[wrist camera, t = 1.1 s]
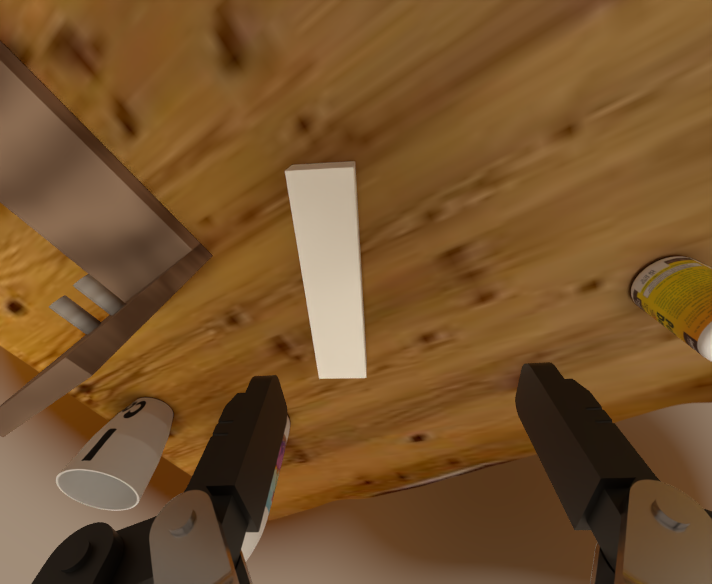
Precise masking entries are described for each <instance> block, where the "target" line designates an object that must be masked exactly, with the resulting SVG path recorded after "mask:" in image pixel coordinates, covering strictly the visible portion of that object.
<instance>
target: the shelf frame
mask: <svg viewBox="0 0 712 584" xmlns="http://www.w3.org/2000/svg"><path fill="white" fill-rule="evenodd" d="M0 202H1V203H2V204H3V205H4V206H6V207H7V208H8V209H9V210H11V211H12V212H13V213H14V214H15V215H17V216H18V217H19V218H20V219H22V220H23V221H24V222H25V223H27V224H28V225H29V226H30V227H32V228H33V229H34V230H35V231H36V232H38V233H39V234H40V235H41V236H43V237H44V238H45V239H46V240H48V241H49V242H50V243H51V244H53V245H54V246H55V247H56V248H57V249H59V250H60V251H61V252H62V253H64V254H65V255H66V256H67V257H69V258H70V259H71V260H72V261H74V262H75V263H76V264H77V265H78V266H80V267H81V268H82V269H83V270H85V271H86V272H87V273H88V275H86V276H85V277H83V278H82V279H80V280H79V281H78V282H76V283H75V284H74V285H73V286H74V287H75V288H76V289H78V290H79V291H80V292H82V293H83V294H84V295H86V296H87V297H88V298H89V299H91V300H92V301H93V302H95V303H96V304H97V305H98V306H100V307H101V308H102V309H104V310H105V311H106V312H107V313H109V314H110V315H109V316H108V317H107V318H106V319H104V320H103V321H102V322H100V321H99V320H97V319H96V318H95V317H93V316H92V315H91V314H89V313H88V312H87V311H85V310H84V309H83V308H81V307H80V306H79V305H77V304H76V303H75V302H73V301H72V300H71V299H69V298H68V297H67V296H63V297H61V298H60V299H58V300H57V301H55V302H54V303H53V304H51V305H50V306H49V308H51V309H52V310H53V311H55V312H56V313H58V314H59V315H60V316H62V317H63V318H65V319H66V320H67V321H69V322H70V323H71V324H73V325H74V326H76V327H77V328H78V329H80V330H81V331H83V332H84V333H85V334H86V335H85V336H84V337H83V338H81V339H80V340H79V341H78V342H77V343H75V344H74V345H73V346H72V347H71V348H69V349H68V350H67V351H66V352H65V353H63V354H62V355H61V356H60V357H58V358H57V359H56V360H55V361H54V362H52V363H51V364H50V365H49V366H48V367H46V368H45V369H44V370H43V371H42V372H40V373H39V374H38V375H37V376H36V377H34V378H33V379H32V380H31V381H30V382H28V383H27V384H26V385H25V386H23V387H22V388H21V389H20V390H19V391H18V392H17V393H15V394H14V395H13V396H11V397H10V398H9V399H8V400H7V401H5V402H4V403H3V404H2V405H1V406H0V436H2V437H4V436H6V435H7V434H8V433H10V432H11V431H13V430H14V429H16V428H17V427H19V426H20V425H22V424H23V423H24V422H26V421H27V420H29V419H30V418H32V417H33V416H34V415H36V414H37V413H39V412H40V411H42V410H43V409H45V408H46V407H48V406H49V405H50V404H52V403H53V402H55V401H56V400H57V399H59V398H61V397H62V396H63V395H65V394H66V393H68V392H69V391H71V390H72V389H73V388H75V387H76V386H78V385H79V384H81V383H82V382H84V381H85V380H86V379H88V378H89V377H91V376H92V375H93V374H94V373H95V372H96V371H97V370H98V369H99V368H100V367H101V366H102V365H103V364H104V363H105V362H106V361H107V360H108V359H109V358H110V357H111V356H112V355H113V354H114V353H115V352H116V351H117V350H118V349H119V348H120V347H121V346H122V345H123V344H124V343H125V342H126V341H127V340H128V339H129V338H130V337H131V336H132V335H133V334H134V333H135V332H136V331H137V330H138V329H139V328H140V327H141V326H142V325H143V324H144V323H145V322H147V321H148V320H149V319H150V318H151V317H152V316H153V315H154V314H155V313H156V312H157V311H158V310H159V309H160V308H161V307H162V306H163V305H164V304H165V303H166V302H167V301H168V300H169V299H170V298H171V297H172V296H173V295H174V294H175V293H176V292H177V291H178V290H179V289H180V288H181V287H182V286H183V285H184V284H185V283H186V282H187V281H188V280H189V279H190V278H191V277H192V276H193V275H194V274H195V273H196V272H197V271H198V270H199V269H200V268H201V267H202V266H203V265H204V264H205V263H206V262H207V261H208V260H209V259H210V258H211V257H212V255H211V254H210V253H209V252H208V251H207V250H206V249H205V248H204V247H203V246H202V245H201V244H200V243H199V242H198V241H197V240H196V239H195V237H194V236H193V235H192V234H191V233H190V232H189V231H188V230H187V229H186V228H185V227H184V226H183V225H182V224H181V223H180V222H179V221H178V220H177V219H176V218H175V217H174V216H173V215H172V214H171V213H170V212H169V211H168V210H167V209H166V208H165V207H164V206H163V205H162V204H161V203H160V202H159V201H158V200H157V199H156V198H155V197H154V196H153V195H152V194H151V193H150V192H149V191H148V190H147V189H146V188H145V187H144V186H143V185H142V184H141V183H140V182H139V181H138V180H137V179H136V178H135V177H134V176H133V175H132V174H131V173H130V172H129V171H128V170H127V169H126V168H125V167H124V166H123V165H122V164H121V163H120V162H119V161H118V160H117V159H116V158H115V157H114V156H113V155H112V153H111V152H110V151H109V150H108V149H107V148H106V147H105V146H104V145H103V144H102V143H101V142H100V141H99V140H98V139H97V138H96V137H95V136H94V135H93V134H92V133H91V132H90V131H89V130H88V129H87V128H86V127H85V126H84V125H83V124H82V123H81V122H80V121H79V120H78V119H77V118H76V117H75V116H74V115H73V114H72V113H71V112H70V111H69V110H68V109H67V108H66V107H65V106H64V105H63V104H62V103H61V102H60V101H59V100H58V99H57V98H56V97H55V96H54V95H53V94H52V93H51V92H50V91H49V90H48V89H47V88H46V87H45V86H44V85H43V84H42V83H41V82H40V81H39V80H38V79H37V78H36V77H35V76H34V75H33V74H32V73H31V72H30V71H29V69H28V68H27V67H26V66H25V65H24V64H23V63H22V62H21V61H20V60H19V59H18V58H17V57H16V56H15V55H14V54H13V53H12V52H11V51H10V50H9V49H8V48H7V47H6V46H5V45H4V44H3V43H2V42H1V41H0Z"/></svg>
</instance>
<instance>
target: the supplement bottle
mask: <svg viewBox="0 0 712 584" xmlns="http://www.w3.org/2000/svg"><path fill="white" fill-rule="evenodd" d="M631 297H632V299H633V301H634V303H635V304H636V305H637V306H639V307H640V308H641V309H642V310H644V311H645V312H646V313H648V314H649V315H650V316H652V317H653V318H654V319H655V320H657V321H658V322H659V323H661V324H662V325H663V326H664V327H666V328H667V329H668V330H670V331H671V332H672V333H674V334H675V335H676V336H677V337H679V338H680V339H681V340H683V341H684V342H685V343H687V344H688V345H689V346H690V347H692V348H693V349H694V350H696V351H697V352H698V353H699V354H701V355H702V356H703V357H705V358H707V359H708V360H710V361H712V268H711V267H709V266H707V265H705V264H703V263H701V262H699V261H696V260H694V259H692V258H689V257H683V256H675V257H669V258H665V259H661V260H659V261H657V262H655V263H653V264H651V265H650V266H648V267H647V268H645V269H644V270H643V271H642V272H641V273H640V274H639V275H638V276H637V277H636V279H635V281H634V282H633V284H632V288H631Z"/></svg>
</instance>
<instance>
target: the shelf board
mask: <svg viewBox="0 0 712 584" xmlns="http://www.w3.org/2000/svg"><path fill="white" fill-rule="evenodd" d="M285 175H286V181H287V187H288V193H289V199H290V205H291V211H292V217H293V223H294V229H295V235H296V241H297V247H298V253H299V259H300V265H301V271H302V277H303V284H304V290H305V296H306V302H307V308H308V314H309V320H310V326H311V332H312V338H313V344H314V350H315V356H316V362H317V368H318V374H319V379H324V378H366V343H365V326H364V308H363V290H362V273H361V255H360V237H359V219H358V202H357V184H356V166H355V161H349V162H332V163H314V164H297V165H291V166H290V167H289V168H288V169H287V170H285Z"/></svg>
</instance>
